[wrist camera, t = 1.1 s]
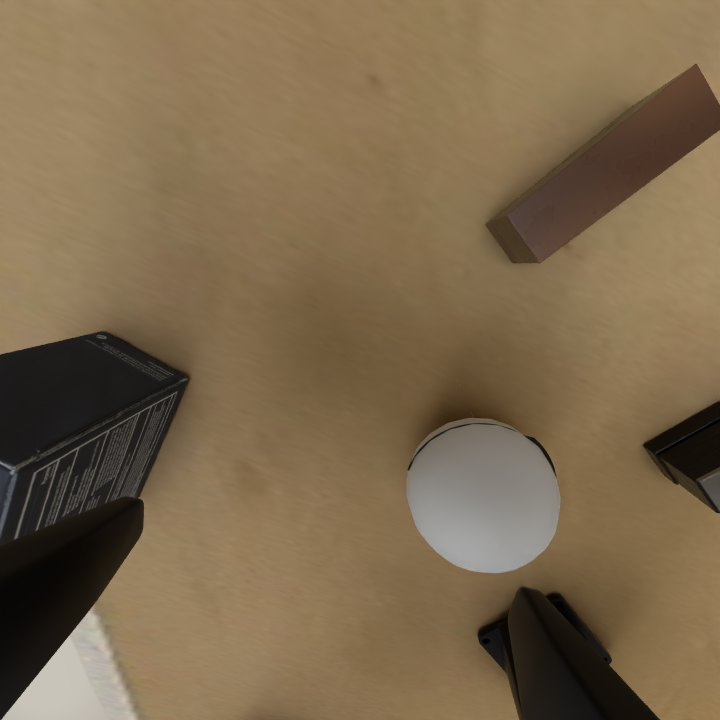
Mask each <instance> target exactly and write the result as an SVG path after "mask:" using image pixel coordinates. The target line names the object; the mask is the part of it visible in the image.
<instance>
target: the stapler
mask: <svg viewBox="0 0 720 720" xmlns="http://www.w3.org/2000/svg"><path fill="white" fill-rule="evenodd" d="M643 446H644V448H645V449H646V450H647V452H648V453H649V455H650V456H651V457H652V459H653V460H654V462H655V463H656V465H657V466H658V467H659V469H660V470H661V472H662V473H663V474H664V476H666V477H667V478H668V479H669V480H671V481H672V482H673V483H675V484H676V485H677V484H680V485H681V486H682V487H684V488H685V489H686V490H688V491H689V492H690V493H691V494H693V495H694V496H695V497H697V498H698V499H699V500H700V501H702V502H703V503H704V504H706V505H707V506H708V507H710V508H711V509H712V510H713V511H715V512H716V513H720V402H718V403H716V404H714V405H713V406H711V407H709V408H707V409H706V410H704V411H702V412H700V413H699V414H697V415H695V416H693V417H691V418H690V419H688V420H686V421H684V422H683V423H681V424H679V425H677V426H676V427H674V428H672V429H670V430H669V431H667V432H665V433H663V434H661V435H660V436H658V437H656V438H654V439H653V440H651V441H649V442H647V443H646V444H644V445H643Z"/></svg>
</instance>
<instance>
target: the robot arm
mask: <svg viewBox="0 0 720 720" xmlns="http://www.w3.org/2000/svg"><path fill="white" fill-rule="evenodd" d="M143 520H144V503H143V501H142V500H141V499H139V498H134V497H130V496H124V497H121V498H118V499H116V500H113V501H111V502H108V503H105V504H103V505H100V506H98V507H95V508H93V509H90V510H88V511H85V512H83V513H80V514H77V515H75V516H72V517H70V518H67V519H65V520H62V521H60V522H57V523H55V524H52V525H49V526H47V527H44V528H42V529H39V530H37V531H34V532H32V533H29V534H27V535H24V536H21V537H19V538H16V539H14V540H11V541H9V542H6V543H4V544H1V545H0V720H1V719H2V718H3V716H4V715H5V714H6V713H7V712H8V711H9V709H10V708H11V707H12V706H13V704H14V703H15V702H16V701H17V699H18V698H19V697H20V696H21V694H22V693H23V692H24V691H25V690H26V688H27V687H28V686H29V685H30V683H31V682H32V681H33V680H34V678H35V677H36V676H37V675H38V673H39V672H40V671H41V670H42V668H43V667H44V666H45V665H46V663H47V662H48V661H49V660H50V659H51V657H52V656H53V655H54V654H55V652H56V651H57V650H58V649H59V647H60V646H61V645H62V644H63V643H64V641H65V640H66V639H67V638H68V636H69V635H70V634H71V633H72V631H73V630H74V629H75V628H76V626H77V625H78V624H79V623H80V621H81V620H82V619H83V618H84V617H85V615H86V614H87V613H88V611H89V610H90V609H91V608H92V606H93V605H94V604H95V602H96V601H97V600H98V598H99V597H100V595H101V594H102V593H103V591H104V590H105V588H106V587H107V585H108V584H109V582H110V581H111V579H112V578H113V576H114V575H115V573H116V572H117V570H118V569H119V567H120V566H121V565H122V563H123V562H124V560H125V559H126V557H127V556H128V554H129V553H130V551H131V550H132V548H133V547H134V545H135V544H136V542H137V541H138V539H139V538H140V536H141V534H142V531H143ZM478 639H479V643H480V644H481V645H482V646H483V647H484V649H485V650H486V651H487V652H488V653H489V654H490V655H491V656H492V657H493V659H494V660H495V661H496V662H497V663H498V664H499V665H500V666H501V667H502V669H503V670H504V671H505V672H506V673H507V676H508V680H509V683H510V687H511V691H512V694H513V698H514V702H515V705H516V709H517V712H518V716H519V720H660V719H659V718H658V717H657V716H656V715H655V714H654V713H653V712H652V711H651V709H650V708H649V707H648V706H647V705H646V704H645V703H644V702H643V701H642V700H641V699H640V698H639V697H638V696H637V694H636V693H635V692H634V691H633V690H632V689H631V688H630V687H629V686H628V685H627V684H626V683H625V682H624V681H623V679H622V678H621V677H620V676H619V675H618V674H617V673H616V672H615V671H614V670H613V669H612V668H611V667H610V666H609V664H610V663H611V662H612V659H611V657H610V655H609V653H608V651H607V650H606V649H605V648H604V646H603V645H602V644H601V643H600V641H599V640H598V639H597V638H596V637H595V635H594V634H593V633H592V632H591V631H590V629H589V628H588V627H587V626H586V624H585V623H584V622H583V621H582V620H581V618H580V617H579V616H578V615H577V614H576V612H575V611H574V610H573V609H572V608H571V606H570V605H569V604H568V603H567V601H566V600H565V599H564V598H563V597H562V596H561V595H558V594H554V595H551V596H549V597H547V598H546V597H545V596H544V595H543V594H542V593H541V592H540V591H539V590H536V589H533V588H528V587H524V586H522V587H519V588H518V590H517V592H516V595H515V597H514V600H513V602H512V605H511V608H510V610H509V613H508V617H507V618H505V619H503V620H501V621H499V622H497V623H495V624H493V625H491V626H489V627H487V628H485V629H483V630H481V631H479V633H478Z"/></svg>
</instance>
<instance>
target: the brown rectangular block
mask: <svg viewBox="0 0 720 720" xmlns="http://www.w3.org/2000/svg"><path fill="white" fill-rule="evenodd" d="M719 130H720V105H719V103H718V101H717V99H716V97H715V96H714V94H713V92H712V90H711V89H710V87H709V85H708V83H707V81H706V80H705V78H704V76H703V74H702V73H701V71H700V69H699V67H698V65H697V64H695V65H694V66H692V67H691V68H689V69H688V70H686V71H685V72H683V73H682V74H680V75H679V76H677V77H676V78H674V79H673V80H671V81H670V82H668V83H667V84H665V85H664V86H662V87H661V88H659V89H658V90H656V91H655V92H653V93H652V94H650V95H649V96H647V97H646V98H644V99H642V100H641V101H639V102H638V103H636V104H635V105H633V106H632V107H631V108H630V109H628V110H627V111H626V112H625V113H623V114H622V115H621V116H620V117H618V118H617V119H616V120H615V121H613V122H612V123H611V124H610V125H608V126H607V127H606V128H605V129H603V130H602V131H601V132H600V133H598V134H597V135H596V136H595V137H593V138H592V139H591V140H590V141H588V142H587V143H586V144H585V145H583V146H582V147H581V148H580V149H578V150H577V151H576V152H575V153H573V154H572V155H571V156H570V157H568V158H567V159H566V160H565V161H563V162H562V163H561V164H560V165H558V166H557V167H556V168H555V169H553V170H552V171H551V172H550V173H548V174H547V175H546V176H545V177H543V178H542V179H541V180H540V181H538V182H537V183H536V184H535V185H534V186H532V187H531V188H530V189H529V190H527V191H526V192H525V193H524V194H522V195H521V196H520V197H519V198H517V199H516V200H515V201H514V202H512V203H511V204H510V205H509V206H507V207H506V208H505V209H504V210H502V211H501V212H500V213H499V214H497V215H496V216H495V217H494V218H492V219H491V220H490V221H489V222H487V223H486V226H487V228H488V229H489V230H490V232H491V233H492V235H493V236H494V237H495V239H496V240H497V242H498V243H499V244H500V246H501V247H502V249H503V250H504V251H505V253H506V254H507V256H508V257H509V258H510V260H511V261H512V263H541V262H542V261H544V260H545V259H546V258H548V257H549V256H550V255H552V254H553V253H554V252H556V251H557V250H558V249H560V248H561V247H562V246H564V245H565V244H566V243H568V242H569V241H570V240H572V239H573V238H575V237H576V236H577V235H579V234H580V233H581V232H583V231H584V230H585V229H587V228H588V227H589V226H591V225H592V224H593V223H595V222H596V221H597V220H599V219H600V218H602V217H603V216H604V215H606V214H607V213H608V212H610V211H611V210H612V209H614V208H615V207H616V206H618V205H619V204H620V203H622V202H623V201H624V200H626V199H627V198H628V197H630V196H631V195H633V194H634V193H635V192H637V191H638V190H639V189H641V188H642V187H643V186H645V185H646V184H647V183H649V182H650V181H651V180H653V179H654V178H655V177H657V176H658V175H660V174H661V173H662V172H664V171H665V170H666V169H668V168H669V167H670V166H672V165H673V164H674V163H676V162H677V161H678V160H680V159H681V158H682V157H684V156H685V155H686V154H688V153H689V152H691V151H692V150H693V149H695V148H696V147H697V146H699V145H700V144H701V143H703V142H704V141H705V140H707V139H708V138H709V137H711V136H712V135H713V134H715V133H716V132H718V131H719Z"/></svg>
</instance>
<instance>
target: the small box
mask: <svg viewBox="0 0 720 720" xmlns="http://www.w3.org/2000/svg"><path fill="white" fill-rule="evenodd" d="M187 382H188V379H187V377H186V376H185V375H183V374H181V373H180V372H178V371H176V370H173V369H171V368H169V367H167V365H164V364H162V363H160V362H158V361H156V360H154V359H153V358H151V357H149V356H147V355H145V354H144V353H142V352H140V351H138V350H137V349H135V348H133V347H131V346H129V345H128V344H127V343H126V342H123V341H122V340H119V339H117V338H115V337H113V336H111V335H109V334H107V333H105V332H102V331H100V332H97V333H93V334H89V335H84V336H80V337H76V338H71V339H66V340H62V341H58V342H54V343H49V344H45V345H41V346H36V347H32V348H27V349H23V350H18V351H14V352H10V353H5V354H1V355H0V545H1V544H4V543H6V542H9V541H11V540H14V539H16V538H19V537H21V536H24V535H27V534H29V533H32V532H34V531H37V530H39V529H42V528H44V527H47V526H49V525H52V524H55V523H57V522H60V521H62V520H65V519H67V518H70V517H72V516H75V515H77V514H80V513H83V512H85V511H88V510H90V509H93V508H95V507H98V506H100V505H103V504H105V503H108V502H111V501H113V500H116V499H118V498H121V497H124V496H130V497H134V498H138V496H139V494H140V492H141V490H142V487H143V485H144V483H145V480H146V478H147V476H148V473H149V471H150V469H151V467H152V465H153V462H154V459H155V457H156V455H157V453H158V450H159V448H160V445H161V443H162V441H163V439H164V436H165V434H166V432H167V429H168V427H169V424H170V422H171V420H172V418H173V415H174V413H175V411H176V408H177V406H178V404H179V401H180V399H181V396H182V394H183V391H184V389H185V386H186V384H187Z"/></svg>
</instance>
